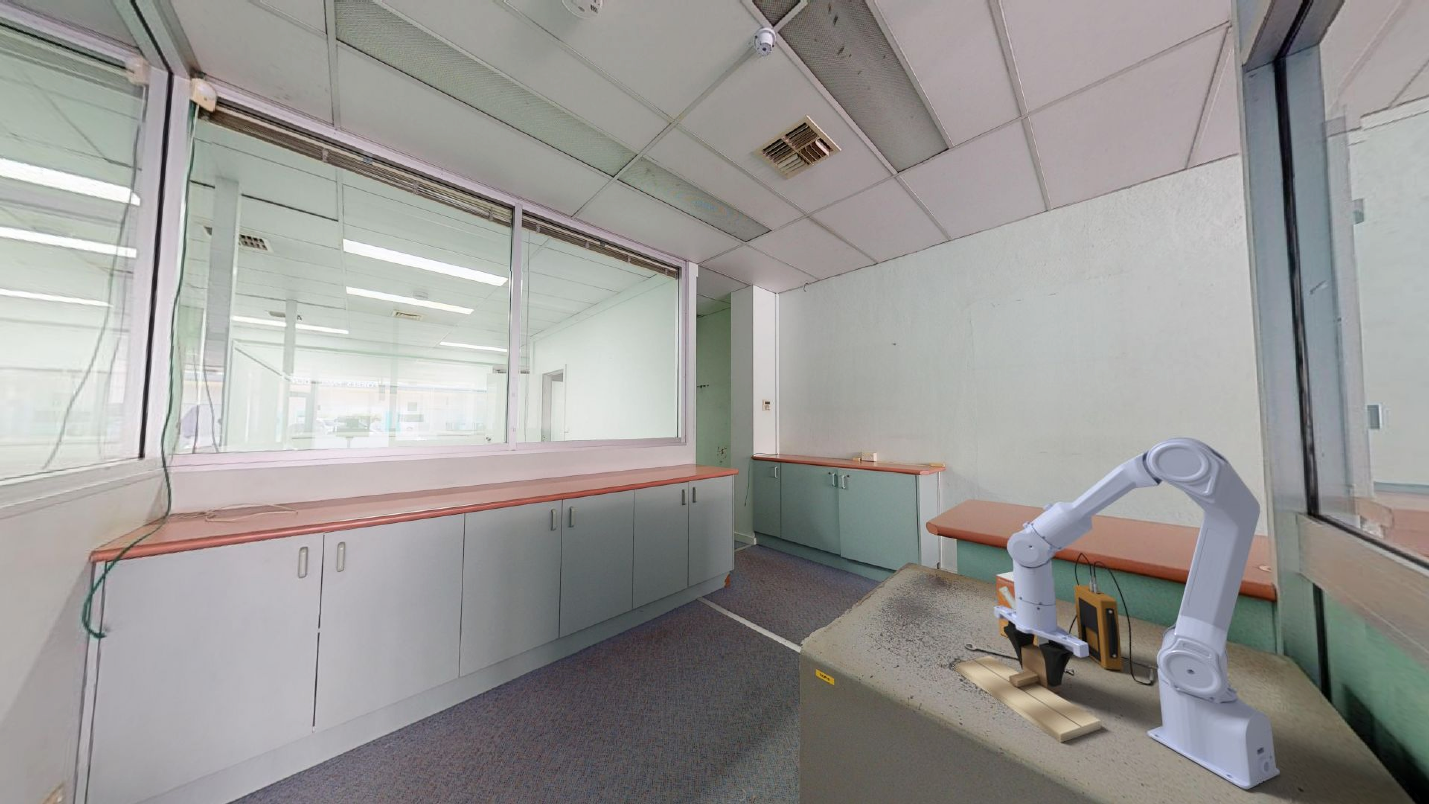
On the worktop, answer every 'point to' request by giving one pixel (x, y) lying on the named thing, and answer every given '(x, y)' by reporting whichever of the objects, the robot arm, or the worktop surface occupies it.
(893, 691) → the worktop surface
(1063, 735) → the board
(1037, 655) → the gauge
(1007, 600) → the small box
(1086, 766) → the worktop surface
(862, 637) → the worktop surface
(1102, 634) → the multimeter
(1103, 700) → the worktop surface
